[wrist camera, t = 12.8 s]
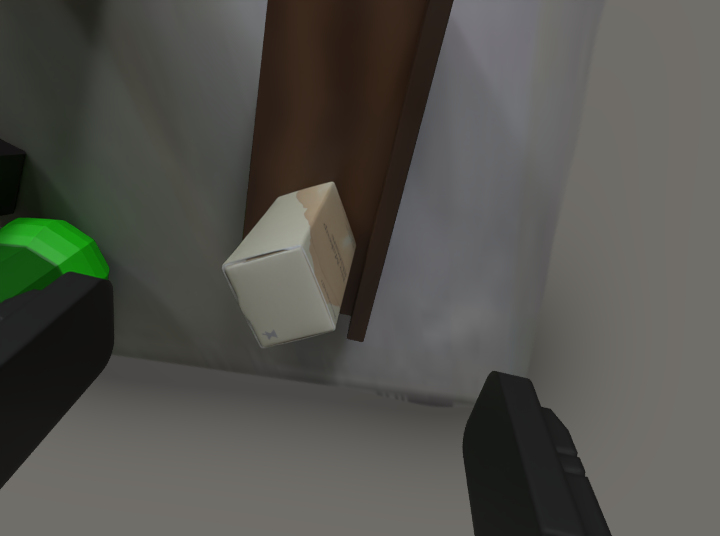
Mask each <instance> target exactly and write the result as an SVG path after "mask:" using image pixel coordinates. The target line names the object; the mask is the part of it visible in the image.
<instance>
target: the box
mask: <svg viewBox="0 0 720 536" xmlns="http://www.w3.org/2000/svg"><path fill="white" fill-rule="evenodd" d="M355 249H356V242H355V239H354V236H353V233H352V230H351V227H350V225H349V222H348V219H347V216H346V213H345V210H344V207H343V205H342V202H341V199H340V196H339V194H338V191H337V188H336V186H335V183H334V182H328V183H324V184H320V185H317V186H313V187H309V188H306V189H303V190H299V191H296V192H293V193H289V194H286V195H283V196H280V197H278V198H277V199H276V200H275V202H274V203H273V204H272V205H271V207H270V208H269V209H268V211H267V212H266V213H265V214H264V216H263V217H262V218H261V219H260V220H259V222H258V223H257V224H256V225H255V226H254V228H253V229H252V230H251V231H250V233H249V234H248V235H247V236H246V237H245V239H244V240H243V241H242V242H241V244H240V245H239V246H238V247H237V249H236V250H235V251H234V252H233V253H232V255H231V256H230V257H229V258H228V259H227V260H226V261H225V263H224V264H223V265H222V271H223V273H224V275H225V277H226V279H227V281H228V283H229V286H230V288H231V290H232V292H233V294H234V296H235V298H236V300H237V302H238V304H239V306H240V308H241V310H242V312H243V314H244V316H245V318H246V320H247V322H248V324H249V326H250V328H251V330H252V332H253V334H254V336H255V338H256V340H257V341H258V343H259V345H260V347H261V348H267V347H272V346H276V345H281V344H285V343H289V342H293V341H298V340H302V339H305V338H310V337H314V336H317V335H321V334H325V333H329V332H332V331H334V330H335V329H336V324H337V320H338V316H339V312H340V307H341V304H342V300H343V296H344V292H345V288H346V284H347V280H348V277H349V273H350V268H351V264H352V261H353V257H354V253H355Z"/></svg>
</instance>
